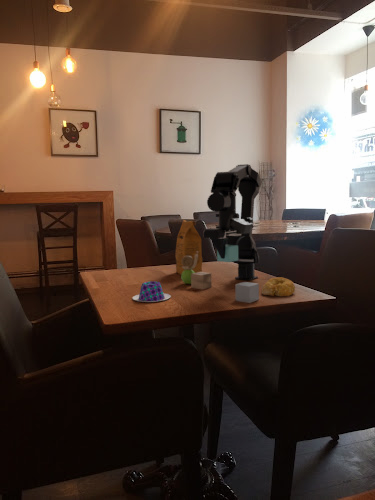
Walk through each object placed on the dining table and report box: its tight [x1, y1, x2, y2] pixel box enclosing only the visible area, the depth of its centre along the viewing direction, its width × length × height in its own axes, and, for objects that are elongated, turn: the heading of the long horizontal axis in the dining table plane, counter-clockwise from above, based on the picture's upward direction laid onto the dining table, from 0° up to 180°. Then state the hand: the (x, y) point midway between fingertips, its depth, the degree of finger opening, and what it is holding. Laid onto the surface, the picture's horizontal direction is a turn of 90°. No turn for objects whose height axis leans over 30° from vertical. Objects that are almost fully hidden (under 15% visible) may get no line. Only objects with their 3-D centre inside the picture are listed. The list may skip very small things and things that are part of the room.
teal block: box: [216, 244, 238, 263], centre depth 138 cm, size 5×5×5 cm
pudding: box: [132, 281, 172, 303], centre depth 130 cm, size 12×12×5 cm
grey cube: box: [234, 281, 260, 304], centre depth 125 cm, size 5×5×5 cm
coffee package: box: [175, 219, 203, 276], centre depth 171 cm, size 10×12×22 cm
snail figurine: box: [180, 251, 198, 285], centre depth 150 cm, size 5×6×12 cm
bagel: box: [261, 277, 296, 297], centre depth 132 cm, size 10×11×5 cm
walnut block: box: [190, 271, 213, 290], centre depth 144 cm, size 5×5×5 cm
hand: (227, 257), depth 138 cm, fingers closed on teal block, 5 cm apart
